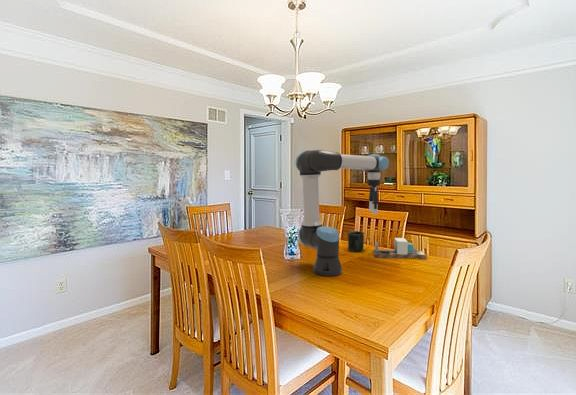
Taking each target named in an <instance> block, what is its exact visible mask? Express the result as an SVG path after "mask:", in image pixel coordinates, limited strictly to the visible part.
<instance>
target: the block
mask: <svg viewBox="0 0 576 395" xmlns="http://www.w3.org/2000/svg"><path fill="white" fill-rule="evenodd" d="M413 248H414V244H413V243H412V242H408V252H413Z"/></svg>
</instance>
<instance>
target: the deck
mask: <svg viewBox="0 0 576 395" xmlns="http://www.w3.org/2000/svg"><path fill="white" fill-rule="evenodd" d="M372 254H373V256H374V258H377V259H402V258H418V259H417V260H427V258H428V257H427V254H426V253H425V252H424V251H423V250H417V252H416V254H408V255H402V254H397V252H376V251H375V248H373V250H372Z"/></svg>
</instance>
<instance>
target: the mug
mask: <svg viewBox="0 0 576 395" xmlns="http://www.w3.org/2000/svg"><path fill="white" fill-rule="evenodd" d="M347 235H348V237H347V241H348V242H347V248H348V251H349V252H354V253H362V252H363V251H364V245H365V244H364V243H365V242H364V240H365V238H364V237H365V236H364V235H365V232H363V231H357V230H352V231H348V232H347Z"/></svg>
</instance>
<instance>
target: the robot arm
mask: <svg viewBox="0 0 576 395" xmlns="http://www.w3.org/2000/svg"><path fill="white" fill-rule="evenodd" d="M389 165H390V161H389V158H388V157H386V156H381V155H380V154H368V155H359V154H358V155H355V154H342V153H341V152H339V151H330V150H324V149H314V150H304V151H302V152H300V153H299V154H298V155H297V156H296V159H295V167H296V169H297V170H298V171H299V176H300V178H301V179H302V195H303V197H302V198H303V201H302V202H303V222H302V223H301V227H300V228H299V230H298V233H297V236H298V241H299V242H300V244H302V245H304V246H305V247H308V248H311V249H314V250H316V258H315V261H314V265H313V267H312V268H313V269H312V270H313V271H312V272H313V273H314V274H316V275H318V276H323V277H334V276H340V275H341V274H342V272H343V269H342V264H341V261H340V258H339V255H340V254H339V253H340V252H339V251H340V246H339V245H340V236H339V235H340V234H339V230H337V228H335V227H332V226H323V223H322V221H320V201H319V200H320V199H319V198H320V196H319V194H320V193H319V178H320V176H321V175H322V174H321V173H322V172H327V171H338V170H340V169H342V170H343V169H344V170H346V169H347V170H357V171H367V185H368V186H369V193H368V194H369V195H368V201H369V202H368V203H369V204H368V205H369V206H368V212H372V215H378V206H379V204H378V203H379V188H378V187H379V186H380V184H381V180H380V179H381V176H382V174H381V171H385V170H387V169H388V168H389V167H390V166H389Z"/></svg>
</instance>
